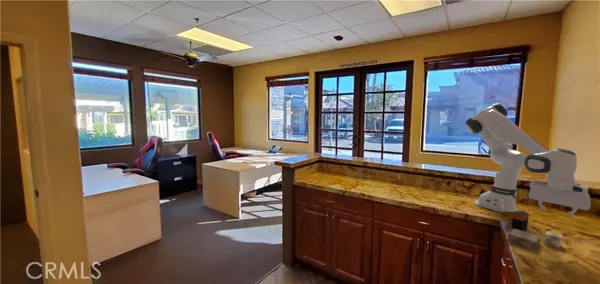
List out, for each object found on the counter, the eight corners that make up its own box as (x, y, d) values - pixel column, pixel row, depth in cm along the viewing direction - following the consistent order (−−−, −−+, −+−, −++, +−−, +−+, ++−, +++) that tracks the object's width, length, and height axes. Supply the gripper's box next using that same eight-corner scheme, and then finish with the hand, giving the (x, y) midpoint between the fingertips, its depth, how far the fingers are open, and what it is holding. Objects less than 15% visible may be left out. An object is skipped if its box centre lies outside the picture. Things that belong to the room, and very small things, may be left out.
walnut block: (507, 241, 124) (508, 233, 124) (512, 236, 131) (513, 228, 130) (535, 250, 117) (536, 242, 116) (539, 243, 123) (540, 235, 123)
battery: (510, 228, 140) (513, 210, 139) (517, 226, 143) (519, 208, 142) (520, 231, 136) (522, 213, 135) (527, 229, 139) (529, 211, 138)
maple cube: (544, 243, 124) (545, 233, 123) (546, 240, 127) (547, 230, 126) (559, 248, 120) (560, 237, 119) (560, 244, 123) (562, 234, 122)
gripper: (528, 180, 126) (525, 208, 128) (592, 190, 110) (587, 221, 112) (531, 178, 130) (528, 205, 132) (592, 188, 114) (588, 218, 116)
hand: (555, 213), depth 122 cm, fingers open, 8 cm apart
